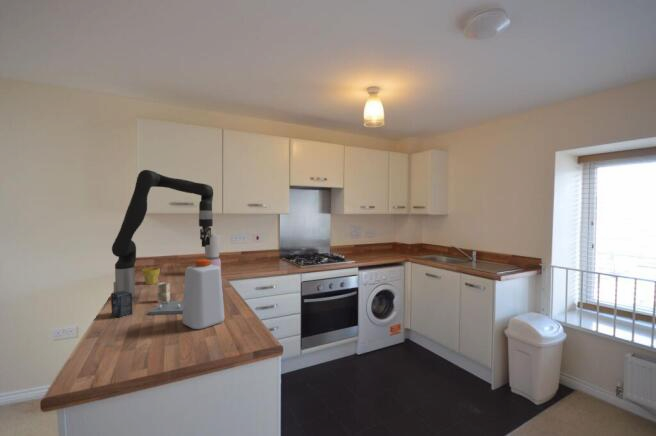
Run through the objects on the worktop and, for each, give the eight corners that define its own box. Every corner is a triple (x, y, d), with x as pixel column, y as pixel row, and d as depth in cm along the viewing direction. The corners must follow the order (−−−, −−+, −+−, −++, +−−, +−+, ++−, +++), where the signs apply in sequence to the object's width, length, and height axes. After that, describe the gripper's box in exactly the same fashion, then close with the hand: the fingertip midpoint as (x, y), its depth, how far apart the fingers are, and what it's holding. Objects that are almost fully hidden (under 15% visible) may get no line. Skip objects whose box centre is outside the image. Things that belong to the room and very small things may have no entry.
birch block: (157, 302, 163) (157, 284, 162) (161, 300, 167) (161, 282, 167) (166, 302, 163) (166, 284, 163) (169, 299, 168) (169, 282, 167)
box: (111, 315, 143) (110, 293, 143) (124, 311, 148) (123, 290, 148) (119, 318, 140) (119, 295, 139) (132, 314, 145) (132, 292, 144)
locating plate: (148, 314, 144) (148, 307, 143) (163, 304, 159) (163, 297, 159) (183, 313, 145) (183, 306, 145) (194, 303, 161) (194, 296, 161)
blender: (216, 276, 226) (215, 234, 225) (201, 276, 227) (200, 234, 227) (225, 272, 242) (225, 232, 241) (211, 271, 243) (210, 232, 242)
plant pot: (139, 284, 204) (138, 269, 203) (154, 280, 213) (153, 267, 213) (148, 285, 199) (148, 271, 199) (163, 282, 208) (163, 268, 208)
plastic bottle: (210, 314, 145) (210, 256, 144) (228, 321, 135) (227, 259, 134) (178, 323, 133) (177, 260, 132) (195, 332, 123) (194, 264, 123)
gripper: (202, 218, 183) (202, 244, 183) (195, 218, 169) (195, 247, 169) (215, 218, 184) (215, 244, 184) (209, 218, 170) (209, 247, 170)
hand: (205, 245), depth 177 cm, fingers open, 8 cm apart
